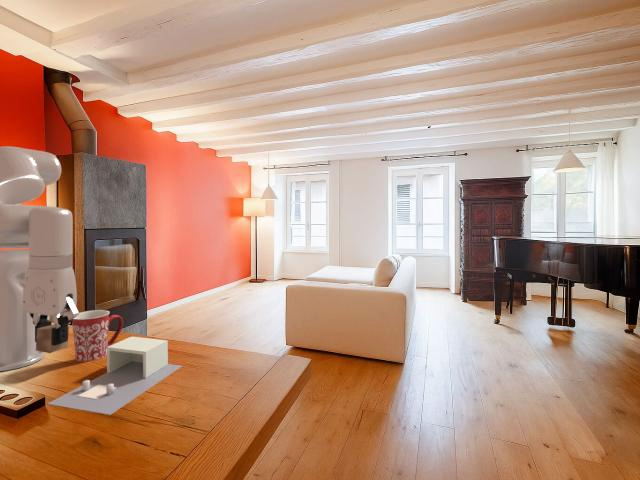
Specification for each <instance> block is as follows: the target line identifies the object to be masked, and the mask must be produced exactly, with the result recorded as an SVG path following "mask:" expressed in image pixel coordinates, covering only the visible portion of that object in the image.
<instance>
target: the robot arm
mask: <svg viewBox="0 0 640 480" xmlns="http://www.w3.org/2000/svg"><path fill="white" fill-rule="evenodd" d="M61 174H62V165H61V162H60V160H59V159H58V158H57V156H56V155H54V154H53V153H51V152H47V151H43V150H37V149H29V148H23V147H17V146H10V145H9V146H8V145H7V146H6V145H5V146H0V249H2V250H0V372H4V371H10V370H16V369H20V368H23V367H26V366H29V365H32V364H35V363H37V362H39V361H41V360H42V359H43V358H44V357H45V352H40V351H36V339H37V328H42V327H46V326H50V325H54V327H55V328H52V345H54V346H56V345H58V344H61V343H64V342H66V341H68V342H69V336H68V326H69V325H70V324H71V323H72V320H73V318H75V317H77V316H78V315H79V313H80V312H79V310H78V308H77V305H78V291H77V281H76V276H75V270H74V268H73V256H74V254H73V251H74V249H73V245H74V242H73V240H74V239H73V236H74V235H73V231H74V229H73V224H74V223H73V213H72V211H70V210H69V209H68V208H62V207H57V206H51V205H50V206H49V205H48V206H45V205H31V204H30V205H29V204H23V203H26V202H27V203H28V202H30V201H34V200H36V199H38V198H39V197H41V196H42V195H43V193H44V192H45V188H46V187H47V186H51V185H52V184H55V183H57V181H58V180H60V178H61ZM61 316H62V317H61ZM51 317H52V319H53V320H52V321H53V324H52V321H50V318H51ZM60 317H61V318H60Z"/></svg>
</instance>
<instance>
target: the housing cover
mask: <svg viewBox="0 0 640 480" xmlns="http://www.w3.org/2000/svg"><path fill="white" fill-rule="evenodd" d="M168 346H169V340H166V339H160V338H159V339H158V338H150V337H149V338H148V337H139V336H130V337H127V338H125V339H122V340H120V341H118V342H114V343H113V344H112V345H111V346H108V347H107V355H106V373H111V372H113V371H115V370H116V369H118V368H120V367H122V366H124V365H126V364H128V363H130V362H132V361H133V362H141V363H143V378H147V377H149V376H150V375H152V374H153V373H155V372H157V371H158V370H160V369H161V368H163V367H165V366H166V365H168V364H169V362H168V361H169V352H168V351H169V350H168V348H169V347H168Z"/></svg>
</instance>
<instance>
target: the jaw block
mask: <svg viewBox="0 0 640 480" xmlns="http://www.w3.org/2000/svg"><path fill="white" fill-rule="evenodd" d="M52 328H55V327H54V324H52V325H50V326H46V327H42V328H37V339H36V351H40V352H44V353H48V354H53V353H54V352H55V353H56V352H58V351H60V350H64V349H67V348H68V347H69V340H68V341H66V342H64V343H61V344H58V345H56V346H54V345H52ZM69 332H70V326H69V325H68V337H70V336H69V335H70V333H69Z"/></svg>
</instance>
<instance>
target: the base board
mask: <svg viewBox="0 0 640 480" xmlns="http://www.w3.org/2000/svg"><path fill="white" fill-rule="evenodd" d="M182 367H183V365H180V364H179V365H178V364H172V363H168V365H166V366H165V367H163V368H161V369H160V370H158V371H157V372H155V373H153V374H152V375H150V376H149V377H147V378H143V363H141V362H133V361H132V362H130V363H128V364H126V365H124V366H122V367H120V368H118V369H116V370H115V371H113V372H111V373H107V372H106V373H103V374H102V375H100V376H98V377H96V378H94V379H93V380H89V379H85V380H83V381H82V384H81V385H80V386H78V387H77V388H75V389H73V390H71V391H69V392H67V393H65V394H63V395H61V396H59V397H58V398H56V399H54V400H52V401H50V402H48V403H47V405H50V406H51V405H52V406H57V407H62V408H63V407H64V408H68V409H75V410H80V411H86V412H91V413H97V414H104V415H107V416H111V415H112V414H114V413H115V412H117V411H119V410H120V409H121V408H123V407H124V406H126V405H127V404H128V403H130V402H132V401H133V400H134V399H136V398H137V397H139V396H141V395H142V394H144V393H145V392H147V391H148V390H149V389H151V388H152V387H154V386H155V385H157V384H159V383H160V382H162V381H163V380H164V379H165V378H168V377H169V376H170V375H172V374H173V373H174V372H176V371H178V370H179V369H181V368H182Z"/></svg>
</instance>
